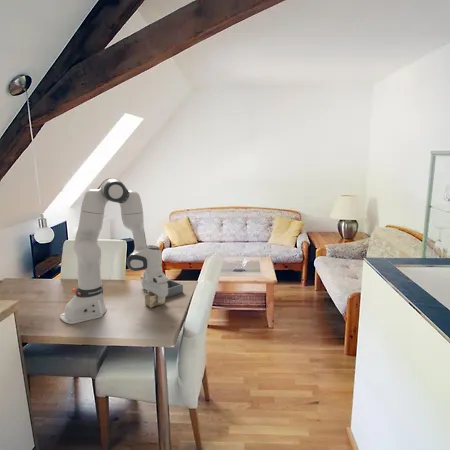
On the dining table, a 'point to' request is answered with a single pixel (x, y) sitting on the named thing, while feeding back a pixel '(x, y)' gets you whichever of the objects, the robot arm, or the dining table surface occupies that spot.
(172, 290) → the grey crate
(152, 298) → the pine crate
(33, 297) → the dining table surface
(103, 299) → the robot arm
